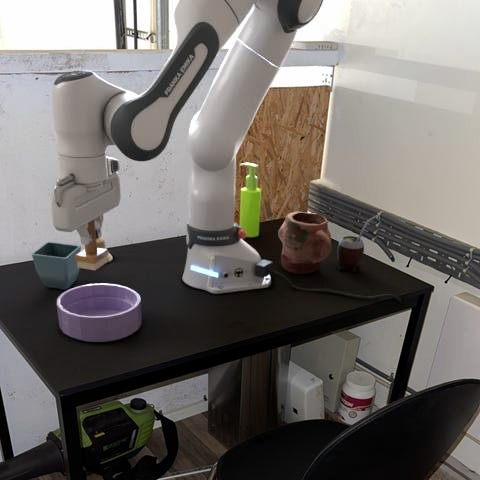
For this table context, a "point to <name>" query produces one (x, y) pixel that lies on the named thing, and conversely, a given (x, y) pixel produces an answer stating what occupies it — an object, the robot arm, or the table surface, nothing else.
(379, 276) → the table surface
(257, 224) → the soap dispenser
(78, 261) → the brush
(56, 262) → the flower pot
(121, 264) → the table surface
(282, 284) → the table surface
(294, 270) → the decorative planter
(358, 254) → the mate gourd
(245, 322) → the table surface
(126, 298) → the bowl
